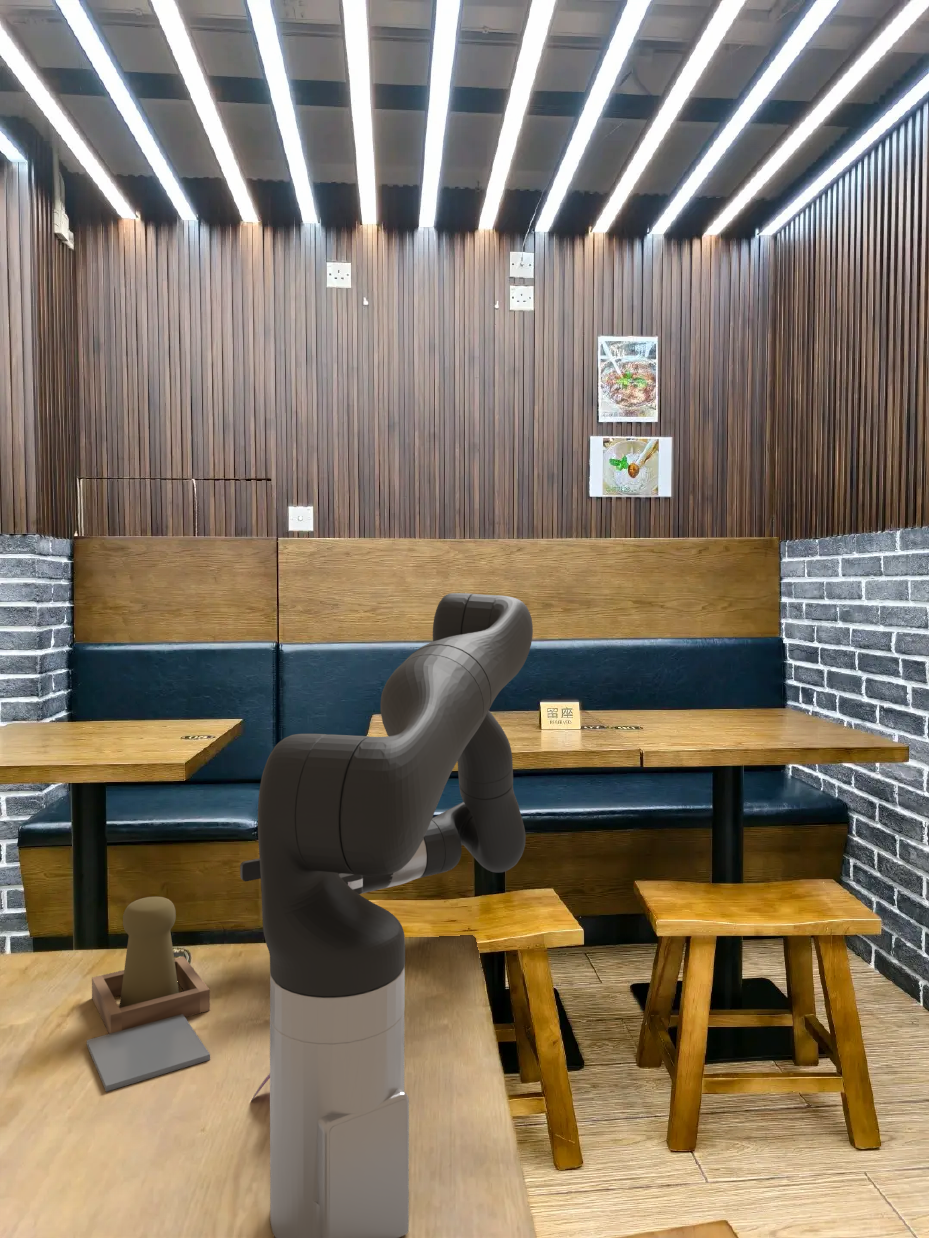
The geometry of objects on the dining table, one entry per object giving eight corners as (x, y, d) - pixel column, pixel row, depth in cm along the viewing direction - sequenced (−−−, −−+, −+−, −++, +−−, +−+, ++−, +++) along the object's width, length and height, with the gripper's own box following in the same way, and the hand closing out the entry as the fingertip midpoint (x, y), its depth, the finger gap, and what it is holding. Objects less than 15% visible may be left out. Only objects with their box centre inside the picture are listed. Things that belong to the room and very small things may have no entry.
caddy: (209, 1010, 86) (209, 989, 86) (110, 1037, 81) (110, 1014, 81) (183, 975, 94) (183, 955, 94) (92, 997, 89) (91, 977, 88)
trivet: (210, 1059, 77) (210, 1054, 77) (106, 1091, 72) (106, 1085, 72) (182, 1018, 84) (182, 1013, 84) (86, 1045, 79) (86, 1039, 79)
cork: (189, 992, 90) (189, 891, 90) (164, 1020, 84) (163, 912, 84) (136, 989, 91) (136, 889, 90) (107, 1016, 85) (106, 910, 84)
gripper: (354, 813, 108) (232, 834, 99) (410, 841, 97) (277, 868, 88) (355, 870, 109) (233, 896, 100) (410, 904, 97) (277, 937, 88)
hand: (254, 882), depth 94 cm, fingers open, 8 cm apart
